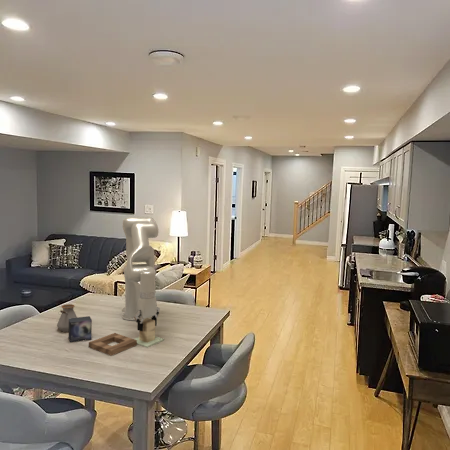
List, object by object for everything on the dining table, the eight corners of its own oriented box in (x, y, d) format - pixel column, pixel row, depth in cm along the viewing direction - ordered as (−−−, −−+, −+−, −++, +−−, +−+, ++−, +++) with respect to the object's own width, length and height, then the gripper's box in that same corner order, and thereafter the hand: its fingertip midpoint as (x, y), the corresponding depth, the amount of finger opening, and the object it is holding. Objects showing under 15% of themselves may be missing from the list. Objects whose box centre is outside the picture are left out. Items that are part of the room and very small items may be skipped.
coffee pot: (60, 325, 225) (59, 299, 224) (81, 325, 227) (81, 298, 225) (48, 340, 204) (48, 311, 203) (72, 340, 206) (72, 311, 204)
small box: (69, 343, 202) (69, 322, 201) (68, 338, 208) (67, 318, 207) (92, 339, 207) (92, 319, 206) (89, 335, 213) (89, 315, 212)
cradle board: (88, 347, 198) (88, 342, 197) (114, 337, 211) (114, 332, 211) (111, 355, 189) (111, 350, 188) (136, 345, 202) (136, 340, 202)
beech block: (139, 340, 207) (139, 320, 206) (147, 336, 212) (147, 317, 210) (147, 342, 204) (147, 323, 203) (154, 339, 208) (155, 320, 207)
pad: (129, 341, 206) (129, 340, 206) (147, 334, 216) (147, 333, 216) (147, 347, 199) (147, 346, 199) (164, 340, 209) (164, 339, 209)
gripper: (154, 290, 215) (153, 321, 216) (129, 297, 200) (129, 331, 202) (165, 292, 210) (164, 324, 212) (140, 299, 196) (139, 334, 198)
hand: (147, 327), depth 207 cm, fingers open, 9 cm apart
